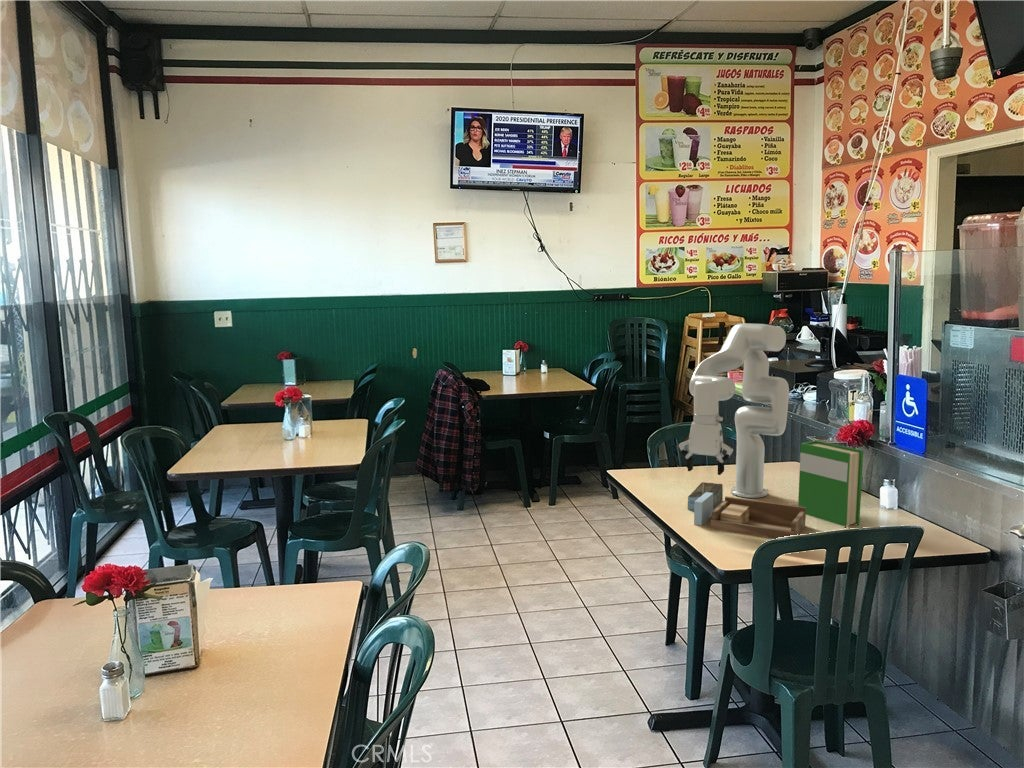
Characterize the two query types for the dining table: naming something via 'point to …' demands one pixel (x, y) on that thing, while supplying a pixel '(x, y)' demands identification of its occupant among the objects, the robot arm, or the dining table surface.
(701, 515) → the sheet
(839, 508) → the hardback book
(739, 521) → the offcut
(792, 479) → the dining table surface
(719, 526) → the tray
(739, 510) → the offcut
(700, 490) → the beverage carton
